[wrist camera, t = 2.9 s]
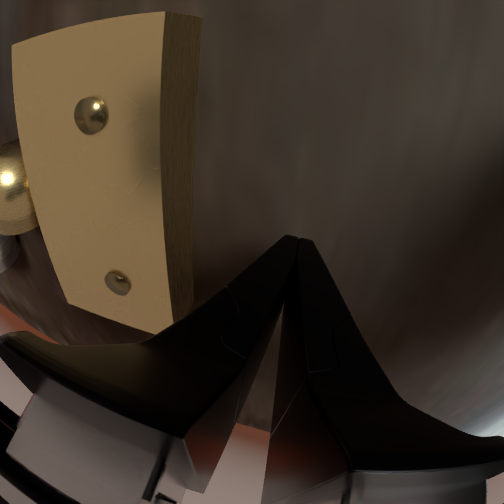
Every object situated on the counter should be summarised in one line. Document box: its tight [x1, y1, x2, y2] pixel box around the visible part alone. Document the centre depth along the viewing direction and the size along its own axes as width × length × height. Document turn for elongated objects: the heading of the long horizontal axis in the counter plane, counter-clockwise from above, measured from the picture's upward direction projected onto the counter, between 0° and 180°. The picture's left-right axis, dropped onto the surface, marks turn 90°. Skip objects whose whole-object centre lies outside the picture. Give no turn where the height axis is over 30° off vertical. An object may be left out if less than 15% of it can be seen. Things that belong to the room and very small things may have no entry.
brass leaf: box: [0, 11, 203, 335], centre depth 11 cm, size 13×11×4 cm
